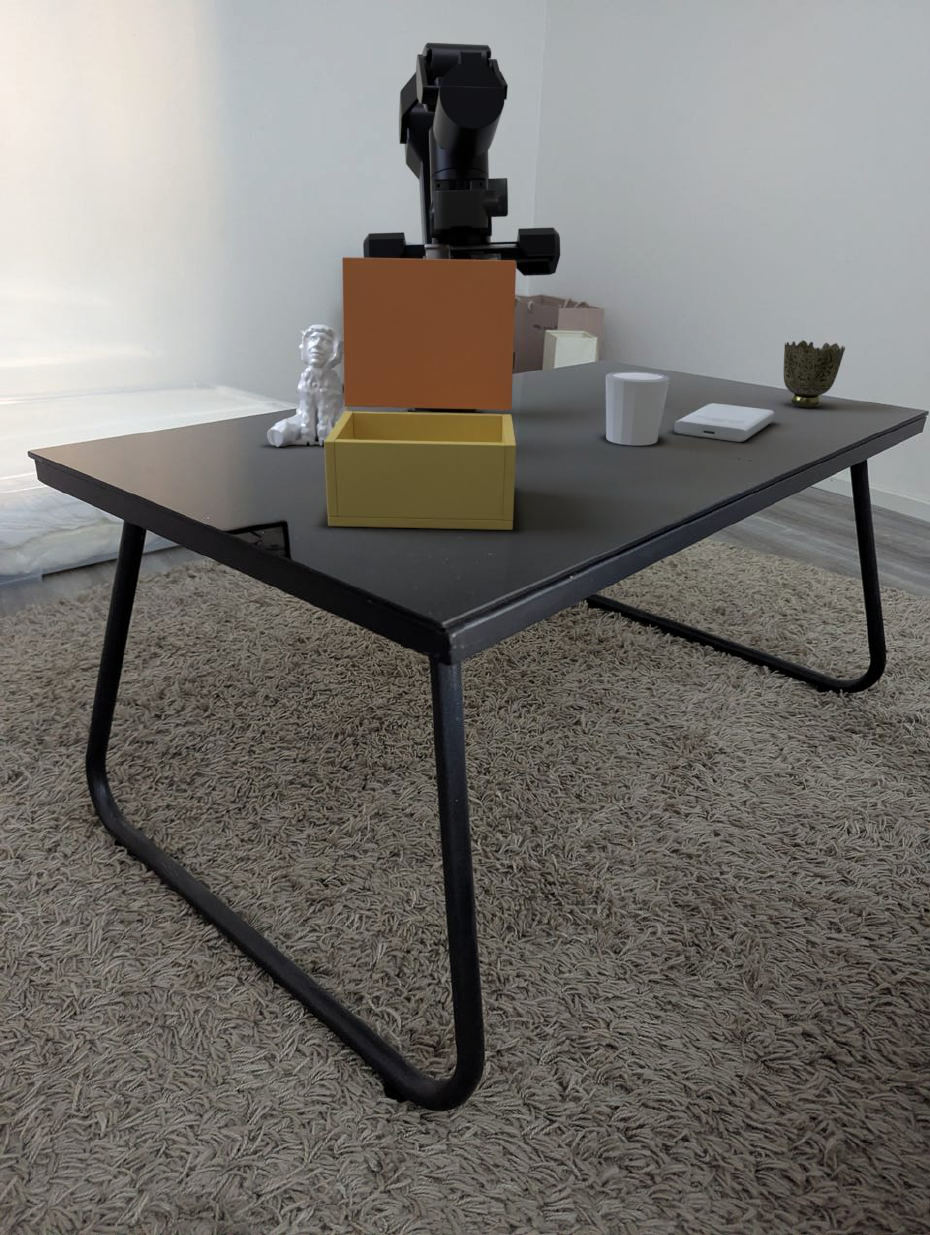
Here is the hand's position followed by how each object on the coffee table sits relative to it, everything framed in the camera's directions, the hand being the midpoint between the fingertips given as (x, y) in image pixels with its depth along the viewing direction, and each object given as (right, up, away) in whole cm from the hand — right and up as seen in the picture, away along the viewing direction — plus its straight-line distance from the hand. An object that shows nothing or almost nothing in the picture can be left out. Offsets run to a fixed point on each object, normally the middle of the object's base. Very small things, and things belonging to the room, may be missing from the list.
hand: (464, 343), depth 88 cm
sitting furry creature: (-16, -8, +9) cm, 20 cm away
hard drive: (+31, -5, +18) cm, 36 cm away
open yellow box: (-3, -17, -12) cm, 21 cm away
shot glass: (+19, -7, +12) cm, 23 cm away
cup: (+45, +1, +32) cm, 55 cm away
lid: (-3, -3, -11) cm, 12 cm away
